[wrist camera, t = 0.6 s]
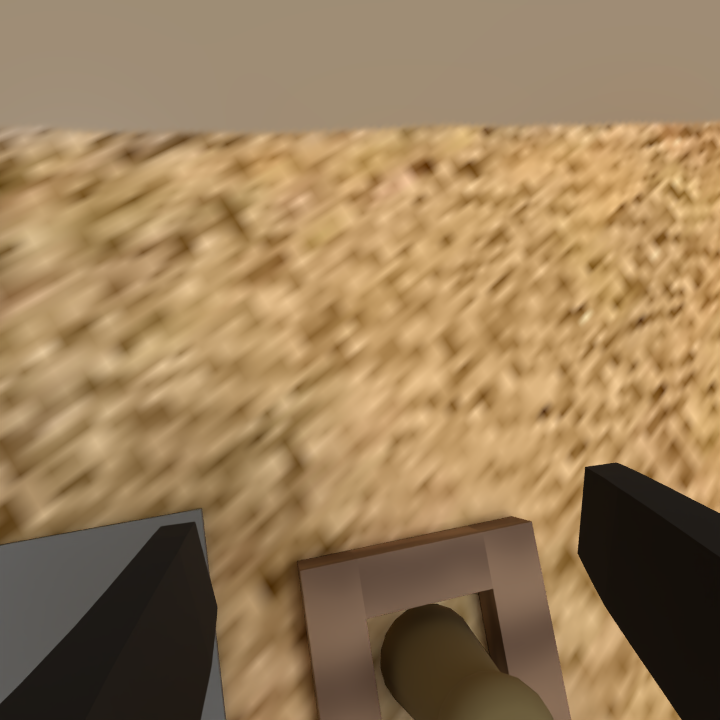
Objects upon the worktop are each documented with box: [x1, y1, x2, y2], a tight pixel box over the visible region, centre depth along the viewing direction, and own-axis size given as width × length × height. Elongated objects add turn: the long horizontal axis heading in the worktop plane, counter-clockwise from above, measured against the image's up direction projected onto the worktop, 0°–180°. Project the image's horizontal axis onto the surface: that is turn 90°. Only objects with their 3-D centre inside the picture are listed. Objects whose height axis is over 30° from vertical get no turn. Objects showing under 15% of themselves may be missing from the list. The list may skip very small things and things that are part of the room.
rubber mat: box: [0, 508, 226, 720], centre depth 28 cm, size 12×12×1 cm
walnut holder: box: [297, 517, 571, 720], centre depth 30 cm, size 14×14×2 cm
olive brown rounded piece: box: [381, 604, 554, 720], centre depth 26 cm, size 6×6×11 cm
